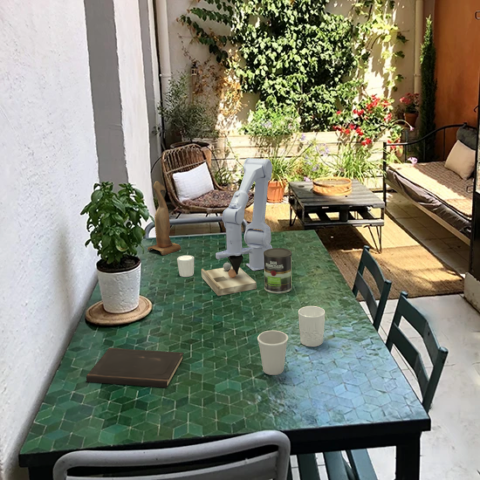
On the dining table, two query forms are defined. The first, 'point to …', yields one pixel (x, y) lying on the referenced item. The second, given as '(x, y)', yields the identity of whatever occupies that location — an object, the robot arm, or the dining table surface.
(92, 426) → the dining table surface
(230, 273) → the ball
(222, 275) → the light wood flat tray
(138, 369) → the hardcover book
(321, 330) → the white cup
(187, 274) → the white tapered cylinder
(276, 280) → the coffee can
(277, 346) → the dixie cup
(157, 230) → the bird sculpture
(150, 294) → the dining table surface
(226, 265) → the grey ball
